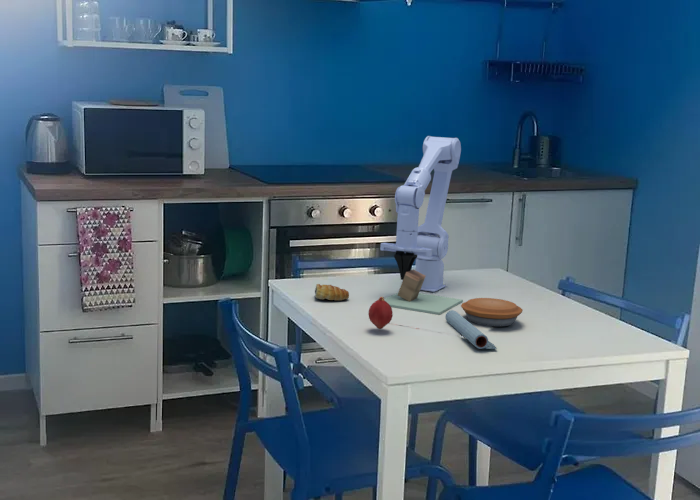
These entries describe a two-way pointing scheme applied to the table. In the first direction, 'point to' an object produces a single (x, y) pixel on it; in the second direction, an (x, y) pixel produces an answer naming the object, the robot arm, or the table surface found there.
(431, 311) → the sage mat
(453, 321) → the aluminum foil
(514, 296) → the table surface
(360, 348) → the table surface
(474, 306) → the pie
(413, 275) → the walnut block
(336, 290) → the pastry
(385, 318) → the onion
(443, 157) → the robot arm
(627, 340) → the table surface
